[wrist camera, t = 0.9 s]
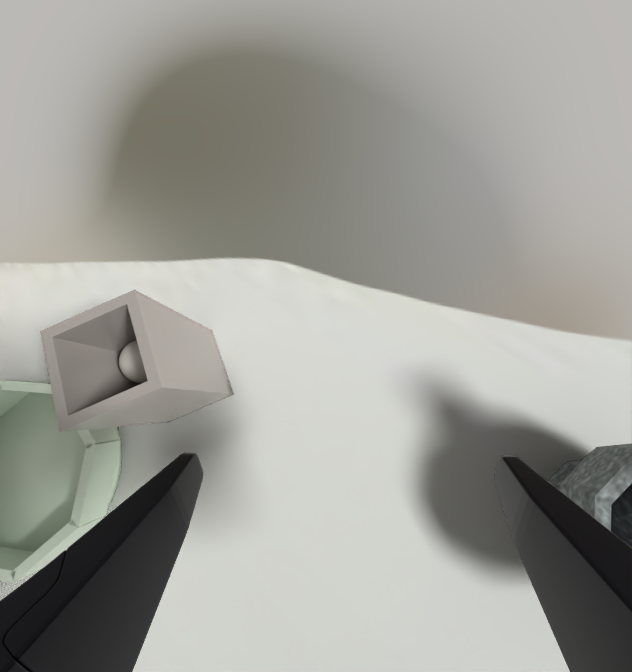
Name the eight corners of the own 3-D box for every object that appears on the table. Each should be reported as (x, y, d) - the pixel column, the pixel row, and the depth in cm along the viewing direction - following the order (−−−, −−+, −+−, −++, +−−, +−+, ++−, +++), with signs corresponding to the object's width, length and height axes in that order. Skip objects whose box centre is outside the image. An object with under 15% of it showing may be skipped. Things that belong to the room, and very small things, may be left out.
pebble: (147, 386, 19) (120, 342, 19) (126, 396, 21) (101, 356, 20) (187, 365, 21) (164, 325, 21) (165, 375, 23) (144, 339, 23)
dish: (101, 569, 23) (65, 593, 20) (-48, 545, 25) (-102, 564, 22) (136, 389, 26) (108, 387, 23) (-1, 379, 27) (-43, 376, 24)
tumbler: (233, 394, 25) (162, 387, 15) (168, 422, 25) (59, 431, 16) (212, 330, 26) (134, 289, 17) (150, 357, 26) (40, 331, 17)
